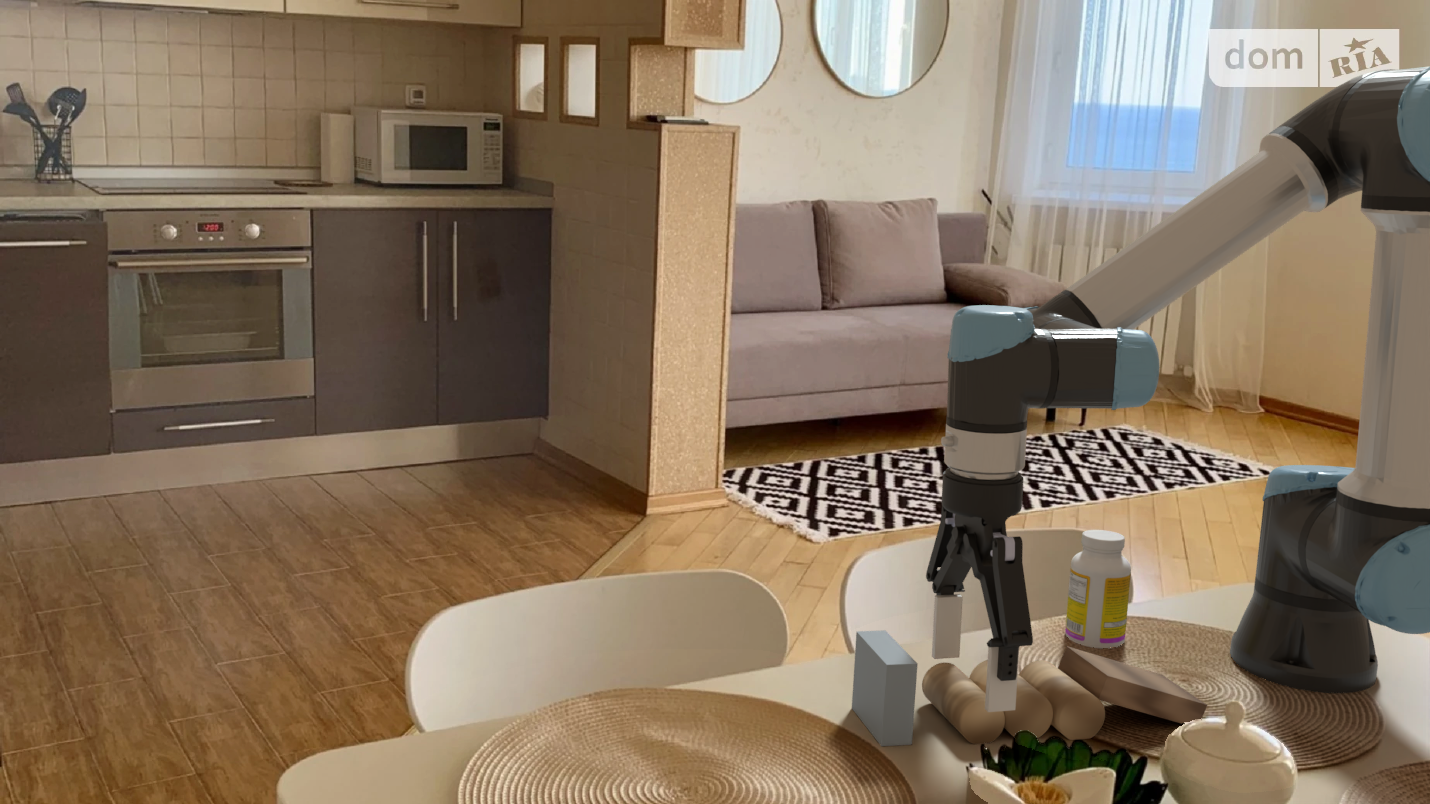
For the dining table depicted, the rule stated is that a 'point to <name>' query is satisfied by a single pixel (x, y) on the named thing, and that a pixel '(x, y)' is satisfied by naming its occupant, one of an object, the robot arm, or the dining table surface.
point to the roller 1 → (962, 703)
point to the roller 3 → (1066, 700)
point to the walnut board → (1131, 686)
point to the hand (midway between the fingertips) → (971, 682)
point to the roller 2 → (1021, 705)
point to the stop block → (884, 687)
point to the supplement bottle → (1098, 591)
